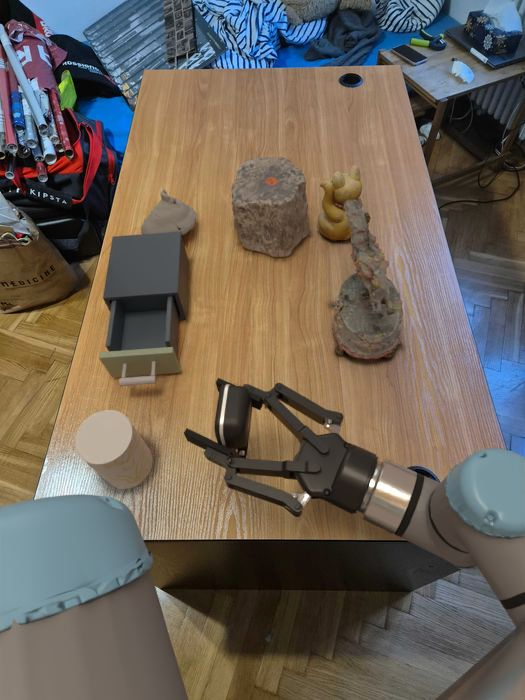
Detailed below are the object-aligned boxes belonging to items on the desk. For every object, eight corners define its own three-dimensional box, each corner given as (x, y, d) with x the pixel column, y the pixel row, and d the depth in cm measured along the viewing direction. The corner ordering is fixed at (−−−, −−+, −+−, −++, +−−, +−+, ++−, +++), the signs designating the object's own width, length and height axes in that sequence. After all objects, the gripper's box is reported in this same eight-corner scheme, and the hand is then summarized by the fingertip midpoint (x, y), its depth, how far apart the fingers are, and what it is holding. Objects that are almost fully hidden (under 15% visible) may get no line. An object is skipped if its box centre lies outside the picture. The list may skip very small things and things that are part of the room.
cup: (130, 498, 73) (105, 475, 63) (92, 472, 76) (62, 445, 66) (162, 455, 77) (143, 426, 67) (125, 432, 79) (101, 400, 69)
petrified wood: (240, 197, 110) (234, 138, 97) (314, 202, 108) (317, 143, 95) (224, 255, 100) (215, 199, 87) (305, 262, 98) (308, 205, 85)
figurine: (329, 279, 95) (341, 175, 74) (393, 280, 94) (424, 175, 73) (331, 365, 84) (345, 272, 63) (403, 367, 84) (443, 273, 62)
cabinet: (186, 320, 91) (177, 292, 84) (117, 325, 91) (102, 298, 84) (188, 261, 100) (180, 231, 92) (125, 266, 100) (112, 236, 93)
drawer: (179, 393, 82) (171, 374, 76) (109, 398, 82) (95, 380, 76) (183, 308, 92) (176, 286, 86) (120, 313, 92) (109, 291, 86)
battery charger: (251, 466, 63) (245, 433, 53) (223, 464, 63) (212, 431, 54) (256, 418, 67) (251, 380, 57) (229, 417, 67) (220, 378, 58)
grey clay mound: (156, 223, 110) (149, 178, 103) (205, 227, 109) (201, 182, 102) (137, 248, 101) (128, 201, 94) (190, 253, 100) (184, 206, 93)
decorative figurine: (345, 212, 105) (353, 153, 93) (369, 233, 102) (381, 175, 89) (311, 231, 103) (314, 172, 90) (335, 253, 99) (342, 195, 86)
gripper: (333, 574, 54) (167, 486, 60) (391, 427, 63) (241, 363, 69) (339, 565, 47) (153, 467, 54) (402, 402, 57) (237, 335, 63)
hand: (203, 409), depth 61 cm, fingers closed on battery charger, 7 cm apart
